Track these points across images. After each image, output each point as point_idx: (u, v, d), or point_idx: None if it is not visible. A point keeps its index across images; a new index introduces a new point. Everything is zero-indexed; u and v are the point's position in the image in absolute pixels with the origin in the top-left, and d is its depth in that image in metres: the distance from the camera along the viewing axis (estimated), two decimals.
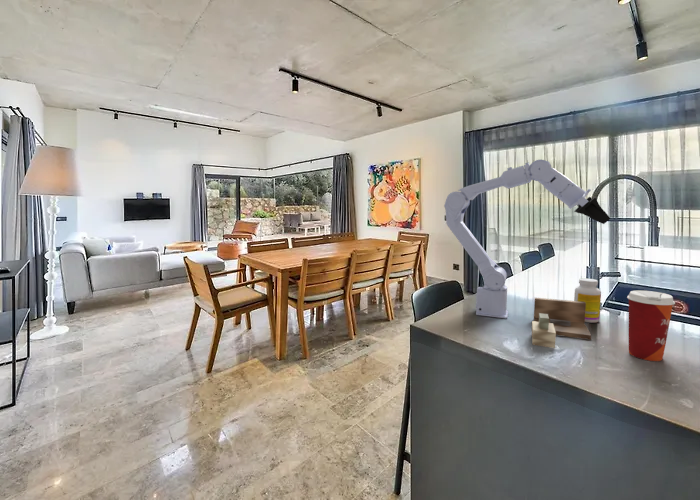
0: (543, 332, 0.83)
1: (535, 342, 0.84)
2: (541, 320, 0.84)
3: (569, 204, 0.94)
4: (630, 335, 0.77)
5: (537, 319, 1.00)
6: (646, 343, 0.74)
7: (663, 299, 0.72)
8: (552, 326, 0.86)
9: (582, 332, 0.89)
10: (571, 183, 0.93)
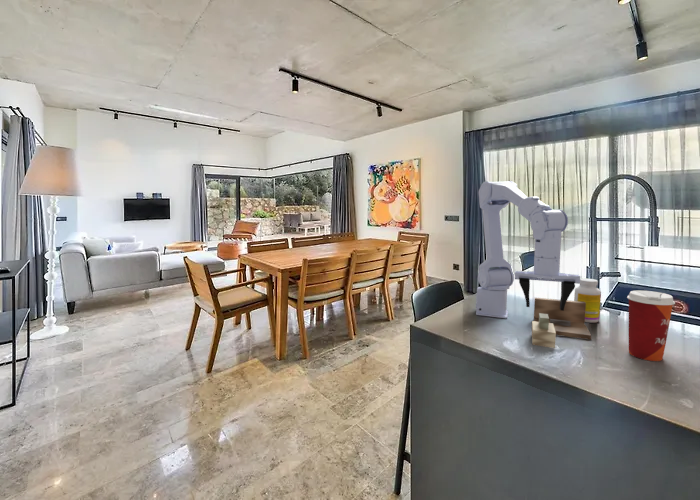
0: (543, 332, 0.83)
1: (535, 342, 0.84)
2: (541, 320, 0.84)
3: None
4: (630, 335, 0.77)
5: (537, 319, 1.00)
6: (646, 343, 0.74)
7: (663, 299, 0.72)
8: (552, 326, 0.86)
9: (582, 332, 0.89)
10: (539, 257, 0.83)
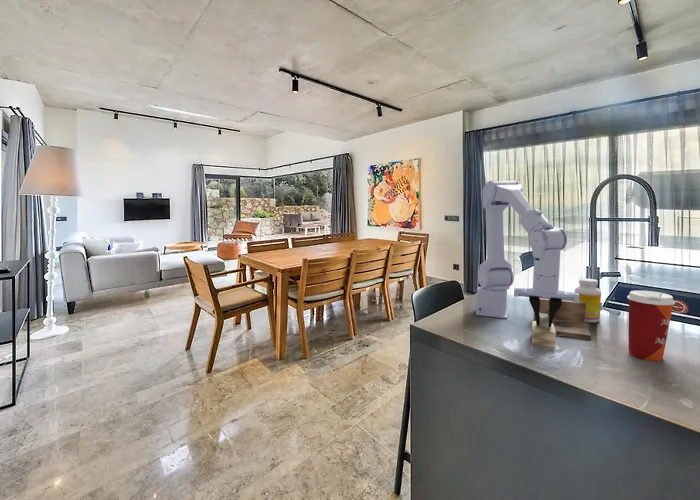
0: (543, 332, 0.83)
1: (535, 342, 0.84)
2: (541, 320, 0.84)
3: None
4: (630, 335, 0.77)
5: None
6: (646, 343, 0.74)
7: (663, 299, 0.72)
8: (552, 326, 0.86)
9: (582, 332, 0.89)
10: (538, 276, 0.83)
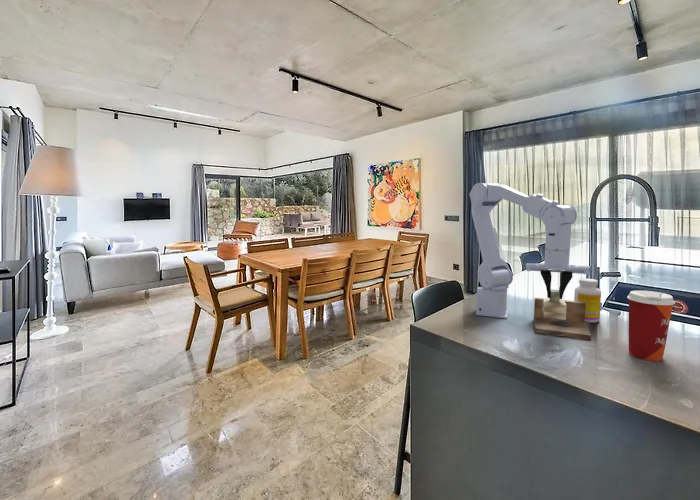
0: (554, 305, 0.87)
1: (547, 314, 0.88)
2: (552, 294, 0.89)
3: None
4: (630, 335, 0.77)
5: (537, 319, 1.00)
6: (646, 343, 0.74)
7: (663, 299, 0.72)
8: (563, 301, 0.90)
9: (582, 332, 0.89)
10: (550, 250, 0.88)
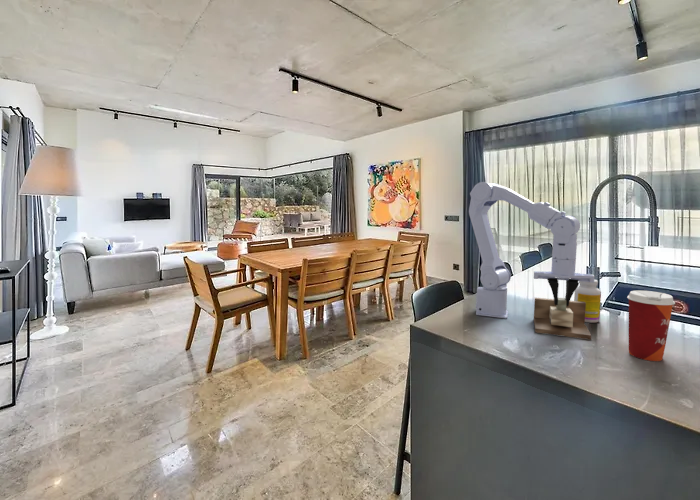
0: (561, 312, 0.91)
1: (554, 322, 0.92)
2: (559, 302, 0.93)
3: None
4: (630, 335, 0.77)
5: (537, 319, 1.00)
6: (646, 343, 0.74)
7: (663, 299, 0.72)
8: (569, 309, 0.94)
9: (582, 332, 0.89)
10: (557, 259, 0.92)
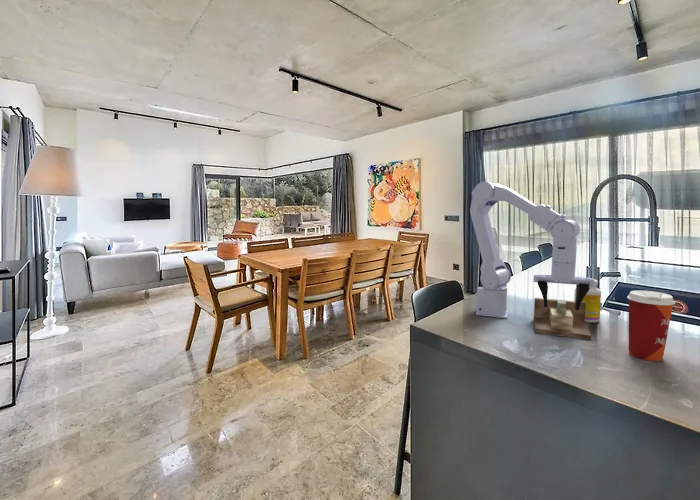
0: (561, 316, 0.91)
1: (554, 325, 0.92)
2: (559, 305, 0.92)
3: None
4: (630, 335, 0.77)
5: (537, 319, 1.00)
6: (646, 343, 0.74)
7: (663, 299, 0.72)
8: (569, 311, 0.94)
9: (582, 332, 0.89)
10: (557, 262, 0.92)
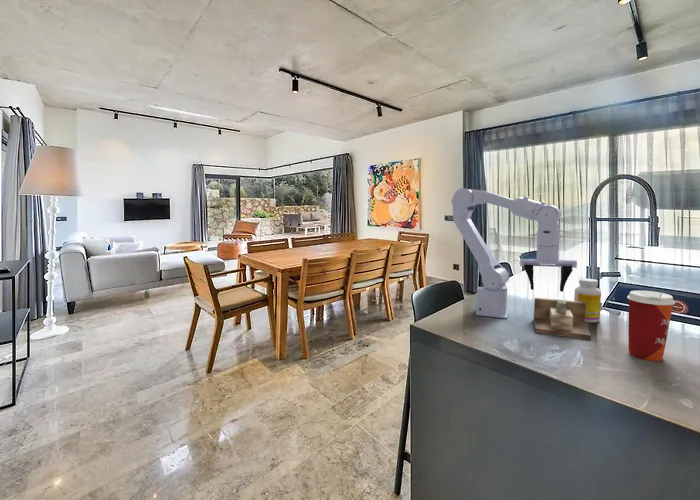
0: (561, 316, 0.91)
1: (554, 325, 0.92)
2: (559, 305, 0.92)
3: None
4: (630, 335, 0.77)
5: (537, 319, 1.00)
6: (646, 343, 0.74)
7: (663, 299, 0.72)
8: (569, 311, 0.94)
9: (582, 332, 0.89)
10: (541, 246, 0.96)
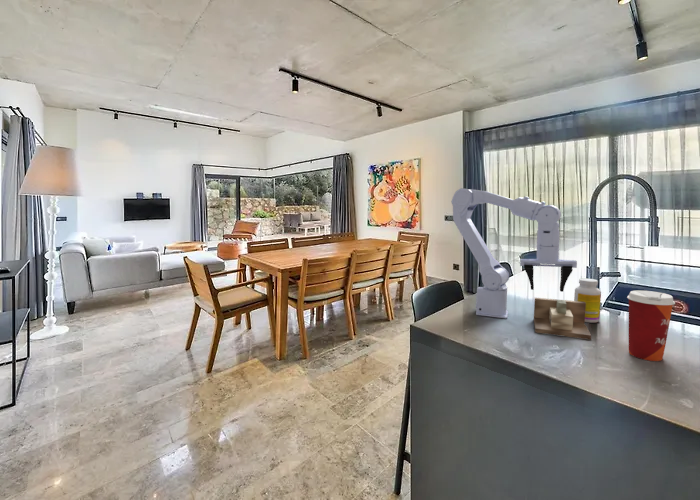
0: (561, 316, 0.91)
1: (554, 325, 0.92)
2: (559, 305, 0.92)
3: None
4: (630, 335, 0.77)
5: (537, 319, 1.00)
6: (646, 343, 0.74)
7: (663, 299, 0.72)
8: (569, 311, 0.94)
9: (582, 332, 0.89)
10: (541, 246, 0.96)
